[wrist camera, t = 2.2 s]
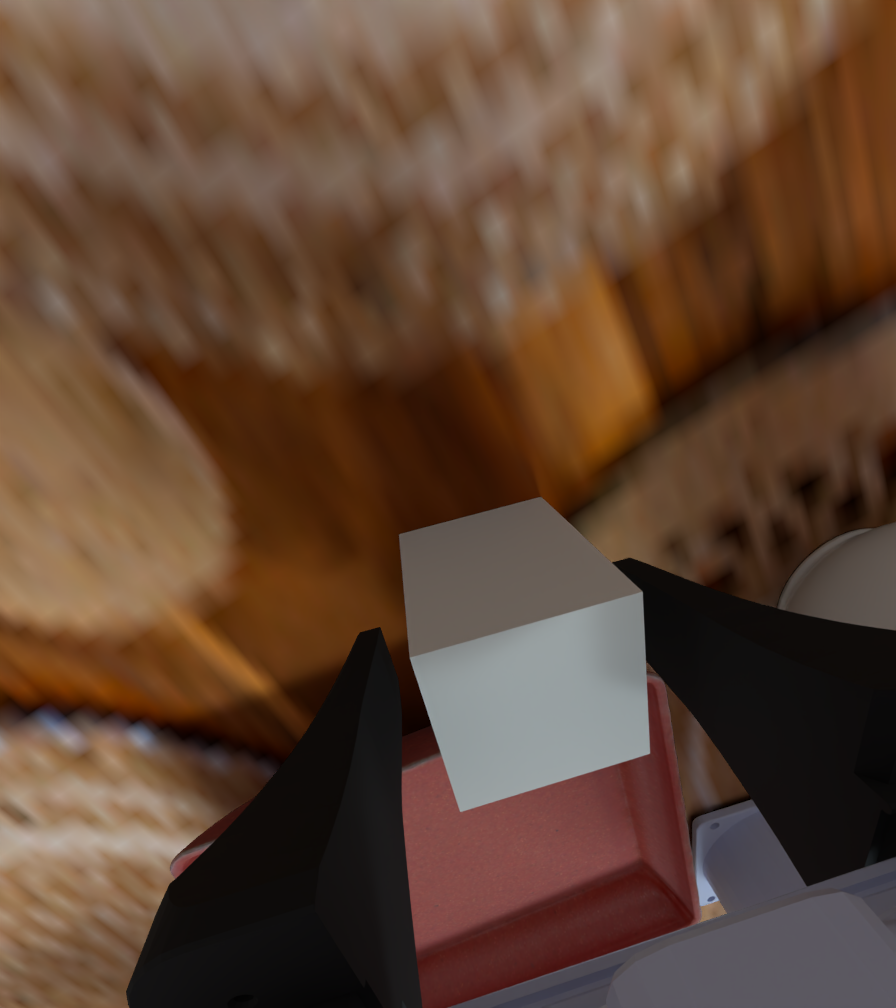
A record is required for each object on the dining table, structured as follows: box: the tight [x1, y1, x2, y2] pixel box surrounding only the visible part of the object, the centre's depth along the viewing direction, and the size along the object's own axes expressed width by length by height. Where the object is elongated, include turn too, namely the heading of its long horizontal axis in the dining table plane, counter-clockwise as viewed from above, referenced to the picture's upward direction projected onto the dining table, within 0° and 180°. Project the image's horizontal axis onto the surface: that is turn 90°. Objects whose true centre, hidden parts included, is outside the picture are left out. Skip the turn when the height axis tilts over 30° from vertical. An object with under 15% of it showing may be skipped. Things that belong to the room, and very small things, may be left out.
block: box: [399, 497, 650, 812], centre depth 12 cm, size 5×5×6 cm
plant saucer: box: [170, 671, 702, 1008], centre depth 19 cm, size 18×18×3 cm
